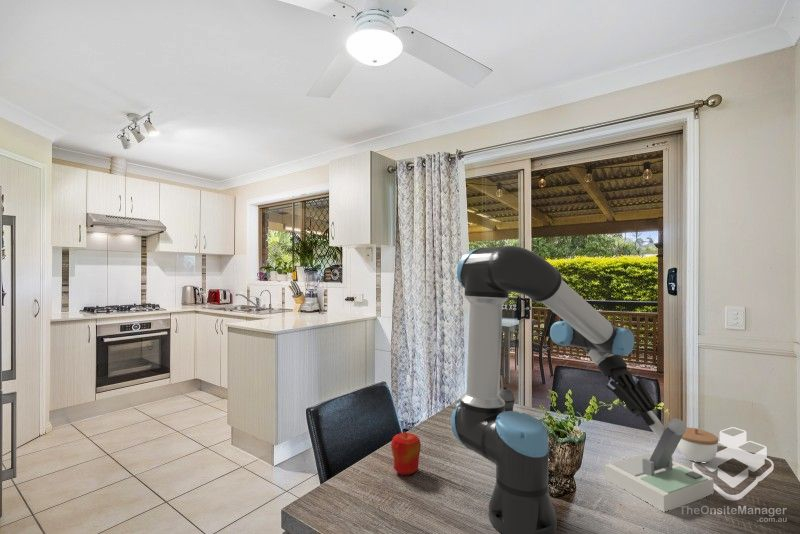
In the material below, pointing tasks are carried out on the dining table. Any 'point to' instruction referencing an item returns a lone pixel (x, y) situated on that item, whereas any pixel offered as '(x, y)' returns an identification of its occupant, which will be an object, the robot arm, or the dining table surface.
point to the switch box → (659, 481)
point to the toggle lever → (668, 443)
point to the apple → (406, 453)
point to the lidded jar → (698, 445)
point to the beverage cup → (507, 397)
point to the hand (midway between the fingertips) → (663, 436)
